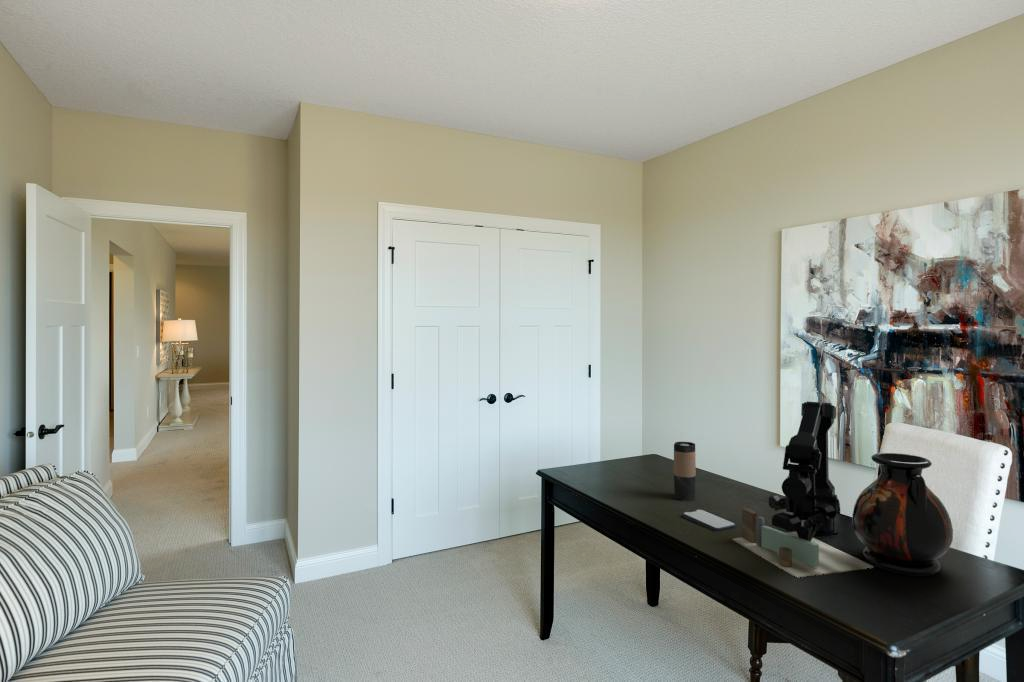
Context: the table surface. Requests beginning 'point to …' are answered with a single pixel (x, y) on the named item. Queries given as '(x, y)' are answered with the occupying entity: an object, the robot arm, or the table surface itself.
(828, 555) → the gate base
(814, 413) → the robot arm
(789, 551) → the stop post
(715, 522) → the phone case
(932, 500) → the amphora vase
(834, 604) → the table surface
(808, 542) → the gate
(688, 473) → the travel mug
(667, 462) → the table surface
